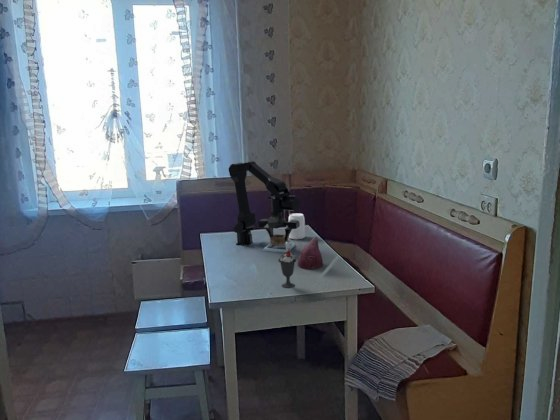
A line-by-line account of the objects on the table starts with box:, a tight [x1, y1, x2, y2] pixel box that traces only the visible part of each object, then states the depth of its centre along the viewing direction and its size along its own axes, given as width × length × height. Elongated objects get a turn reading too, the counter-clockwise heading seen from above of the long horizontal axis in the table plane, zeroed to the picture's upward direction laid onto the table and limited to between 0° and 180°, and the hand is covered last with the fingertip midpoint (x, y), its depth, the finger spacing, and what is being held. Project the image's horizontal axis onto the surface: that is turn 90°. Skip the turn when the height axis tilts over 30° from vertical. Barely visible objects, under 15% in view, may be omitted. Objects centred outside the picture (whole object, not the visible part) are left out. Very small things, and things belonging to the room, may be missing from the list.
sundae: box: [278, 248, 297, 289], centre depth 183 cm, size 7×7×15 cm
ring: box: [269, 233, 289, 246], centre depth 229 cm, size 7×6×3 cm
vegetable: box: [297, 235, 324, 271], centre depth 203 cm, size 10×10×15 cm
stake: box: [280, 240, 297, 259], centre depth 217 cm, size 7×7×8 cm
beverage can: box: [288, 212, 306, 240], centre depth 250 cm, size 8×8×12 cm
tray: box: [263, 242, 296, 253], centre depth 230 cm, size 11×11×2 cm
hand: (279, 241), depth 230 cm, fingers closed on ring, 6 cm apart
